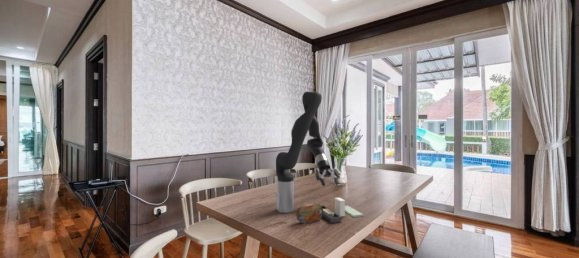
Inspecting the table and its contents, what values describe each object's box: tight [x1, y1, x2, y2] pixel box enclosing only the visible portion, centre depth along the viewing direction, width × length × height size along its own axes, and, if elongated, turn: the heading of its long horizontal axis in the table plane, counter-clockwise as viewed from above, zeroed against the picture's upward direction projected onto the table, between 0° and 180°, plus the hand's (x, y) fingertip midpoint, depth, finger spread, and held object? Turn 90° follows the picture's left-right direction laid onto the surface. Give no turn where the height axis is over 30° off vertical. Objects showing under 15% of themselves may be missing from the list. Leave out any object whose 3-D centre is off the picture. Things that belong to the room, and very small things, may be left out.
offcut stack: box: [323, 208, 335, 217], centre depth 132 cm, size 3×10×3 cm, turn 18°
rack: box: [321, 204, 342, 224], centre depth 132 cm, size 6×20×2 cm, turn 18°
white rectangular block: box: [334, 197, 346, 218], centre depth 134 cm, size 3×6×8 cm, turn 18°
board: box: [345, 205, 364, 218], centre depth 139 cm, size 6×16×1 cm, turn 18°
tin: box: [295, 203, 323, 225], centre depth 125 cm, size 15×3×8 cm, turn 118°
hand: (330, 184), depth 144 cm, fingers open, 8 cm apart
